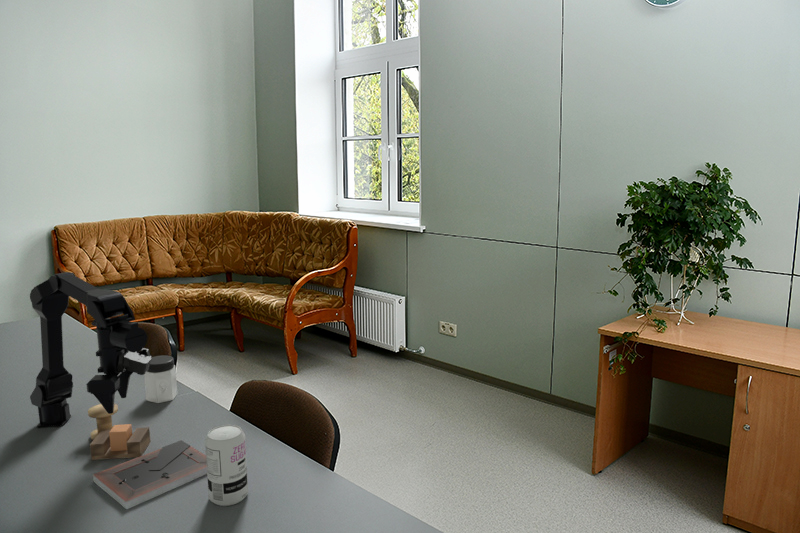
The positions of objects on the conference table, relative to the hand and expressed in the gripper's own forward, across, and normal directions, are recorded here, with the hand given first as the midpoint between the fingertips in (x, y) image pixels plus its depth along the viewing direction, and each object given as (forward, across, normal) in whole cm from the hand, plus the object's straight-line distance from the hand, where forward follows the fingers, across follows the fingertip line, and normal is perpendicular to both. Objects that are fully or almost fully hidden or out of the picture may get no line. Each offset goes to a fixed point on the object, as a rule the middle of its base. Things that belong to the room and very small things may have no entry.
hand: (117, 405), depth 149 cm
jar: (+12, +33, -1) cm, 35 cm away
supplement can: (+12, -24, -30) cm, 40 cm away
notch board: (+12, 0, 0) cm, 12 cm away
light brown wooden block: (+11, 0, 0) cm, 11 cm away
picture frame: (+13, -13, -12) cm, 22 cm away
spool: (+12, +9, +7) cm, 17 cm away
